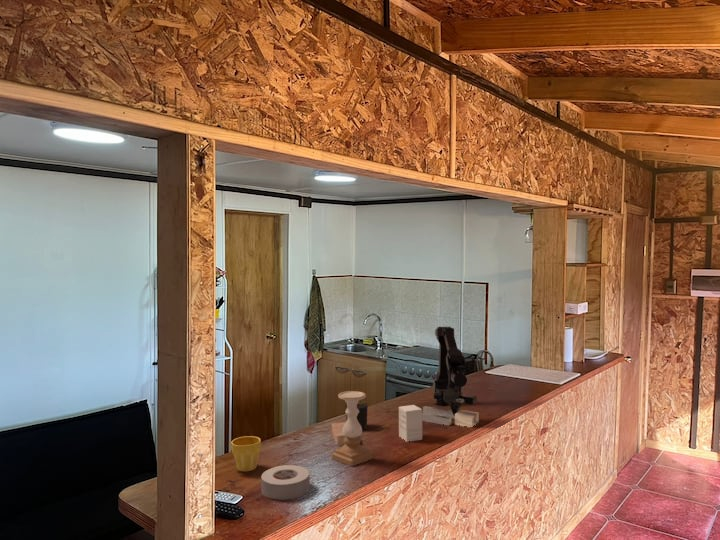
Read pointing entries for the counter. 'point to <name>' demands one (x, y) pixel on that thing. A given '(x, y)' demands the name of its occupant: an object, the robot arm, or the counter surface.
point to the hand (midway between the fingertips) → (455, 416)
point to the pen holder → (361, 415)
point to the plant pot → (246, 452)
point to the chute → (437, 415)
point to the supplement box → (410, 423)
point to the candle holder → (352, 433)
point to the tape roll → (285, 482)
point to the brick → (338, 433)
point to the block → (466, 418)
